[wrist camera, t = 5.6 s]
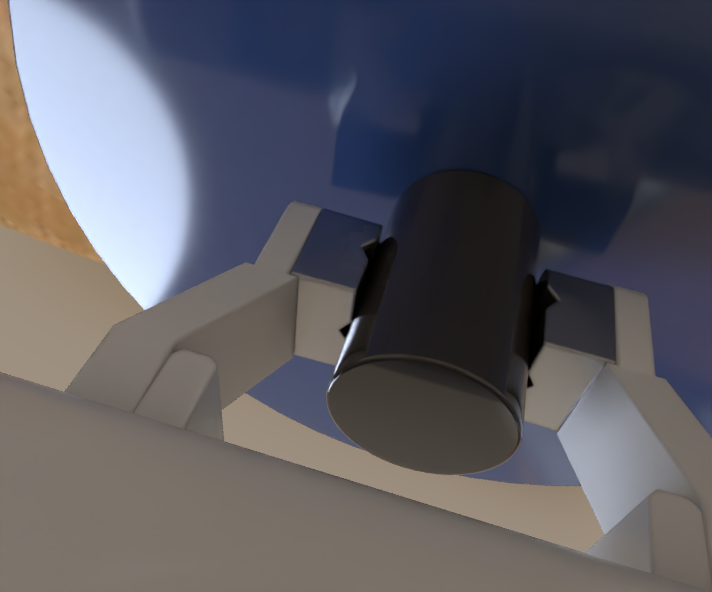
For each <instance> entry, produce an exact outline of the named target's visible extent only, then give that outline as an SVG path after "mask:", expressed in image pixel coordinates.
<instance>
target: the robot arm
mask: <svg viewBox="0 0 712 592" xmlns="http://www.w3.org/2000/svg"><path fill="white" fill-rule="evenodd" d="M382 230H383V225H380V224H377V223H373V222H370V221H366V220H363V219H360V218H356V217H353V216H349V215H346V214H342V213H339V212H335V211H332V210H328V209H325V208H324V209H322V208H320V207H316V206H313V205H309V204H306V203H302V202H299V201H295V200H294V201H293V202H291V203H290V204H289V205H288V206H287V208H286V210H285V212H284V213H283V215H282V217H281V219H280V220H279V222H278V224H277V226H276V227H275V229H274V231H273V233H272V234H271V236H270V238H269V240H268V241H267V243H266V245H265V247H264V248H263V250H262V252H261V254H260V255H259V257H258V259H257V261H256V262H255V264H250V263H246V262H245V263H243V264H241V265H239V266H237V267H235V268H232V269H230V270H228V271H226V272H224V273H222V274H220V275H218V276H216V277H214V278H211V279H209V280H207V281H205V282H203V283H201V284H199V285H197V286H195V287H192V288H190V289H188V290H186V291H184V292H182V293H180V294H178V295H176V296H174V297H171V298H169V299H167V300H165V301H163V302H161V303H159V304H157V305H155V306H152V307H150V308H148V309H146V310H144V311H142V312H140V313H138V314H136V315H134V316H132V317H129V318H127V319H125V320H123V321H121V322H119V323H117V324H115V325H113V327H112V328H111V329H110V331H109V332H108V333H107V335H106V336H105V337H104V339H103V340H102V341H101V343H100V344H99V345H98V347H97V348H96V350H95V351H94V352H93V354H92V355H91V356H90V358H89V359H88V360H87V362H86V363H85V365H84V366H83V367H82V369H81V370H80V371H79V373H78V374H77V375H76V377H75V378H74V379H73V381H72V382H71V383H70V385H69V386H68V388H67V389H66V390H65V392H63V391H59V390H56V389H53V388H50V387H46V386H43V385H40V384H37V383H34V382H30V381H27V380H24V379H21V378H17V377H14V376H11V375H8V374H5V373H1V372H0V592H712V438H711V436H710V435H709V434H708V432H707V431H706V430H705V429H704V427H703V426H702V425H701V424H700V422H699V421H698V420H697V418H696V417H695V416H694V415H693V413H692V412H691V411H690V410H689V408H688V407H687V406H686V404H685V403H684V402H683V401H682V399H681V398H680V397H679V396H678V394H677V393H676V392H675V390H674V389H673V388H672V387H671V385H670V384H669V383H668V382H667V380H666V379H663V378H660V377H656V375H655V365H654V355H653V345H652V335H651V325H650V315H649V304H648V298H647V296H646V295H645V293H642V292H638V291H634V290H630V289H626V288H622V287H618V286H614V285H610V286H609V285H607V284H603V283H599V282H595V281H591V280H588V279H584V278H580V277H576V276H572V275H568V274H564V273H561V272H557V271H553V270H549V269H545V271H544V272H543V273H542V275H541V276H540V278H539V280H538V282H537V285H536V296H535V307H534V318H533V329H532V340H531V351H530V362H529V374H528V385H527V396H526V407H525V418H524V421H526V422H529V423H532V424H535V425H538V426H542V427H545V428H548V429H551V430H554V431H557V432H558V433H557V436H558V438H559V440H560V442H561V444H562V446H563V448H564V450H565V452H566V455H567V457H568V459H569V461H570V463H571V465H572V467H573V469H574V471H575V473H576V476H577V478H578V480H579V482H580V484H581V486H582V488H583V490H584V492H585V494H586V496H587V498H588V501H589V503H590V505H591V507H592V509H593V511H594V513H595V515H596V518H597V520H598V522H599V524H600V526H601V528H602V530H603V532H604V534H605V535H604V536H603V537H602V538H601V539H600V540H599V541H598V542H597V543H596V544H595V545H593V546H592V547H591V548H590V549H589V550H588V551H587V552H586V553H583V552H580V551H576V550H573V549H570V548H567V547H563V546H560V545H557V544H554V543H551V542H547V541H544V540H541V539H538V538H535V537H531V536H528V535H525V534H522V533H518V532H515V531H512V530H509V529H505V528H502V527H499V526H495V525H492V524H489V523H486V522H482V521H479V520H476V519H473V518H469V517H467V516H463V515H460V514H457V513H454V512H450V511H447V510H444V509H441V508H437V507H434V506H431V505H428V504H424V503H421V502H418V501H415V500H412V499H408V498H405V497H402V496H399V495H395V494H392V493H389V492H386V491H382V490H379V489H376V488H372V487H369V486H366V485H363V484H360V483H357V482H353V481H350V480H347V479H344V478H340V477H337V476H334V475H331V474H327V473H324V472H321V471H318V470H315V469H311V468H308V467H305V466H302V465H298V464H295V463H292V462H289V461H285V460H282V459H279V458H275V457H272V456H269V455H266V454H263V453H260V452H256V451H253V450H250V449H247V448H243V447H240V446H237V445H234V444H230V443H227V442H224V435H223V424H222V411H221V410H222V409H224V408H225V407H226V406H228V405H229V404H230V403H232V402H233V401H235V400H236V399H237V398H239V397H240V396H241V395H243V394H244V393H245V392H247V391H248V390H250V389H251V388H252V387H254V386H255V385H256V384H258V383H259V382H260V381H262V380H263V379H265V378H266V377H267V376H269V375H270V374H271V373H273V372H274V371H275V370H277V369H278V368H279V367H281V366H282V365H284V364H285V363H286V362H288V361H289V360H290V359H292V358H293V355H297V356H301V357H304V358H308V359H312V360H316V361H320V362H323V363H327V364H331V365H335V364H336V361H337V358H338V356H339V353H340V350H341V348H342V345H343V342H344V339H345V337H346V334H347V331H348V329H349V326H350V323H351V322H352V319H353V316H354V314H355V311H356V308H357V306H358V303H359V300H360V298H361V295H362V292H363V289H364V285H365V283H366V280H367V277H368V275H369V272H370V270H371V268H372V265H373V262H374V260H375V257H376V254H377V251H378V249H379V246H380V242H381V236H382Z"/></svg>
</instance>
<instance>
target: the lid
mask: <svg viewBox="0 0 712 592" xmlns="http://www.w3.org/2000/svg"><path fill="white" fill-rule="evenodd" d="M8 9H9V17H10V24H11V32H12V40H13V48H14V55H15V63H16V67H17V71H18V75H19V79H20V83H21V87H22V91H23V95H24V99H25V103H26V106H27V110H28V114H29V118H30V121H31V123H32V126H33V129H34V131H35V134H36V137H37V139H38V142H39V145H40V147H41V150H42V153H43V155H44V158H45V160H46V163H47V166H48V168H49V170H50V172H51V174H52V176H53V178H54V180H55V182H56V184H57V186H58V188H59V190H60V192H61V194H62V196H63V198H64V200H65V202H66V204H67V206H68V208H69V210H70V211H71V213H72V215H73V216H74V218H75V219H76V221H77V223H78V224H79V226H80V227H81V229H82V231H83V232H84V234H85V235H86V237H87V239H88V240H89V242H90V243H91V245H92V246H93V248H94V250H95V251H96V252H97V254H98V255H99V256H100V257H101V259H102V260H103V261H104V263H105V264H106V265H107V267H108V268H109V269H110V271H111V272H112V273H113V274H114V276H115V277H116V278H117V280H118V281H119V282H120V284H121V285H122V286H123V287H124V288H125V289H126V290H127V292H128V293H129V294H130V295H131V296H132V297H133V298H134V299H135V300H136V301H137V302H138V304H139V305H140V306H141V307H142V308H143V309H144V310H146V309H148V308H150V307H152V306H155V305H157V304H159V303H161V302H163V301H165V300H167V299H169V298H171V297H174V296H176V295H178V294H180V293H182V292H184V291H186V290H188V289H190V288H192V287H195V286H197V285H199V284H201V283H203V282H205V281H207V280H209V279H211V278H214V277H216V276H218V275H220V274H222V273H224V272H226V271H228V270H230V269H232V268H235V267H237V266H239V265H241V264H243V263H245V262H246V263H250V264H255V262H256V261H257V259H258V257H259V255H260V254H261V252H262V250H263V248H264V247H265V245H266V243H267V241H268V240H269V238H270V236H271V234H272V233H273V231H274V229H275V227H276V226H277V224H278V222H279V220H280V219H281V217H282V215H283V213H284V212H285V210H286V208H287V206H288V205H289V204H290V203H291V202H293V201H294V200H295V201H299V202H302V203H306V204H309V205H313V206H316V207H320V208H322V209H324V208H325V209H328V210H332V211H335V212H339V213H342V214H346V215H349V216H353V217H356V218H360V219H363V220H366V221H370V222H373V223H377V224H380V225H383V230H382V236H381V242H380V246H379V249H378V251H377V254H376V257H375V260H374V262H373V265H372V268H371V270H370V272H369V275H368V277H367V280H366V283H365V285H364V289H363V292H362V295H361V298H360V300H359V303H358V306H357V308H356V311H355V314H354V316H353V319H352V322H351V323H350V326H349V329H348V331H347V334H346V337H345V339H344V342H343V345H342V348H341V350H340V353H339V356H338V358H337V361H336V364H335V365H331V364H327V363H323V362H320V361H316V360H312V359H308V358H304V357H301V356H297V355H293V358H292V359H290V360H289V361H288V362H286V363H285V364H284V365H282V366H281V367H279V368H278V369H277V370H275V371H274V372H273V373H271V374H270V375H269V376H267V377H266V378H265V379H263V380H262V381H260V382H259V383H258V384H256V385H255V386H254V387H252V388H251V389H250V390H248V391H247V392H245V393H246V394H248V395H249V396H251V397H253V398H255V399H257V400H258V401H260V402H262V403H263V404H265V405H267V406H269V407H270V408H272V409H274V410H275V411H277V412H279V413H280V414H282V415H284V416H286V417H289V418H290V419H292V420H295V421H296V422H298V423H301V424H303V425H305V426H307V427H309V428H311V429H313V430H315V431H317V432H319V433H322V434H324V435H326V436H329V437H331V438H334V439H336V440H338V441H341V442H343V443H346V444H348V445H351V446H353V447H356V448H359V449H362V450H365V451H367V452H369V453H371V454H372V455H374V456H376V457H379V458H380V459H382V460H385V461H388V462H390V463H392V464H395V465H398V466H401V467H404V468H408V469H411V470H415V471H420V472H425V473H433V474H441V475H459V476H464V477H469V478H477V479H484V480H491V481H498V482H507V483H516V484H530V485H531V484H532V485H545V486H581V484H580V482H579V480H578V478H577V476H576V473H575V471H574V469H573V467H572V465H571V463H570V461H569V459H568V457H567V455H566V452H565V450H564V448H563V446H562V444H561V442H560V440H559V438H558V436H557V433H558V432H557V431H554V430H551V429H548V428H545V427H542V426H538V425H535V424H532V423H529V422H526V421H524V418H525V407H526V396H527V385H528V374H529V362H530V351H531V340H532V329H533V318H534V307H535V296H536V285H537V282H538V280H539V278H540V276H541V275H542V273H543V272H544V271H545V269H549V270H553V271H557V272H561V273H564V274H568V275H572V276H576V277H580V278H584V279H588V280H591V281H595V282H599V283H603V284H607V285H609V286H610V285H614V286H618V287H622V288H626V289H630V290H634V291H638V292H642V293H645V295H646V296H647V298H648V304H649V315H650V325H651V335H652V345H653V355H654V365H655V375H656V377H660V378H663V379H666V380H667V382H668V383H669V384H670V385H671V387H672V388H673V389H674V390H675V392H676V393H677V394H678V396H679V397H680V398H681V399H682V401H683V402H684V403H685V404H686V406H687V407H688V408H689V410H690V411H691V412H692V413H693V415H694V416H695V417H696V418H697V420H698V421H699V422H700V424H701V425H702V426H703V427H704V429H705V430H706V431H707V432H708V434H709V435H710V436H711V438H712V0H8Z"/></svg>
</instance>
